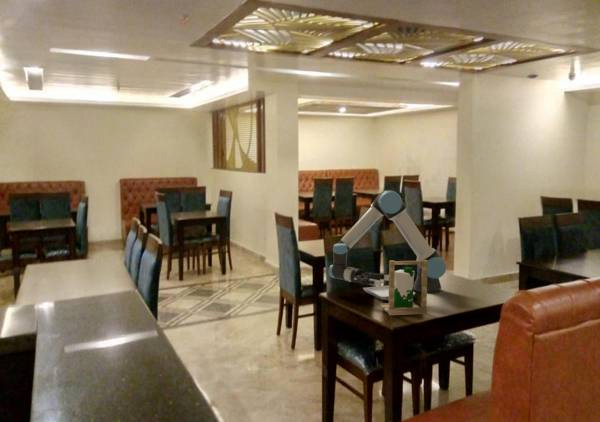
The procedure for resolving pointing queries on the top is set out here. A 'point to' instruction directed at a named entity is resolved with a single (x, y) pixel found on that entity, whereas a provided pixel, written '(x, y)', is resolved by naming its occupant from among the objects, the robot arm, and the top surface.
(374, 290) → the salad plate
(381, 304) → the wooden frame stand
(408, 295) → the fresh milk carton
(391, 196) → the robot arm
